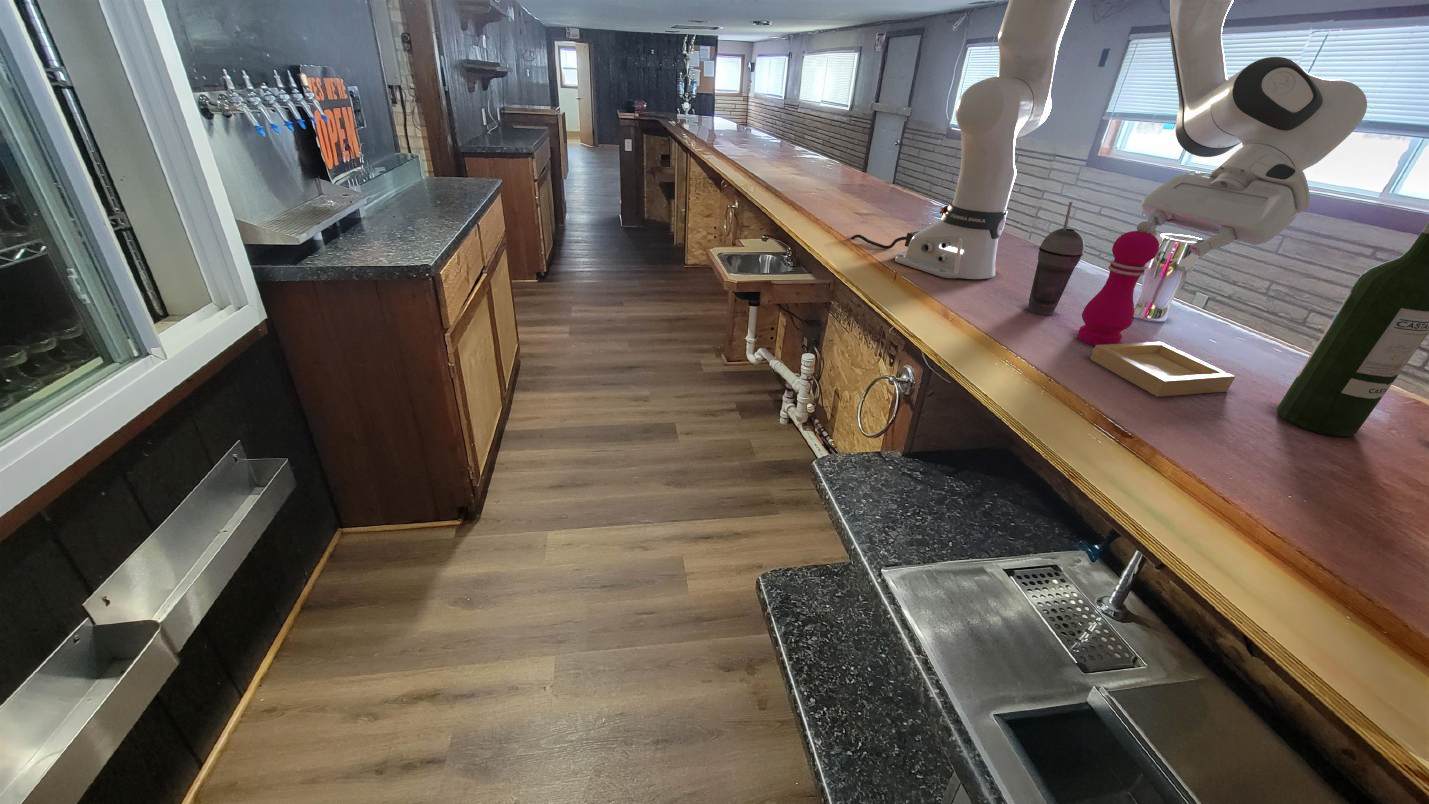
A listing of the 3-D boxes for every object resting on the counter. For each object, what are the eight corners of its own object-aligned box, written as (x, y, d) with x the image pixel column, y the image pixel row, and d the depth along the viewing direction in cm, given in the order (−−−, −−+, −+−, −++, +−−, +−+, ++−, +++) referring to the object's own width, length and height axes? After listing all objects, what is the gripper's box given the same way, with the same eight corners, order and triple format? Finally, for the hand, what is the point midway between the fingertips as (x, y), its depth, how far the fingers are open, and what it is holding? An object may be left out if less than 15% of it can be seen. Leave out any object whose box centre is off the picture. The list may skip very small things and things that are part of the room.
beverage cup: (1045, 319, 105) (1084, 208, 95) (1011, 307, 110) (1045, 200, 100) (1069, 314, 108) (1110, 206, 98) (1035, 302, 113) (1070, 198, 103)
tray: (1089, 359, 90) (1095, 344, 89) (1153, 355, 92) (1160, 341, 91) (1157, 397, 79) (1165, 381, 78) (1227, 391, 82) (1235, 376, 81)
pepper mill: (1125, 341, 97) (1178, 222, 87) (1116, 353, 92) (1170, 229, 82) (1079, 329, 101) (1124, 214, 91) (1068, 339, 97) (1114, 220, 87)
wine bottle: (1344, 444, 70) (1527, 191, 55) (1265, 415, 76) (1412, 179, 61) (1363, 428, 74) (1538, 187, 59) (1287, 401, 80) (1429, 176, 65)
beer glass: (1155, 311, 112) (1190, 234, 104) (1176, 324, 106) (1215, 244, 98) (1118, 308, 112) (1150, 232, 105) (1137, 321, 106) (1173, 241, 99)
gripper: (1180, 156, 94) (1109, 216, 97) (1316, 174, 77) (1224, 247, 80) (1190, 184, 97) (1120, 242, 100) (1322, 208, 80) (1233, 277, 83)
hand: (1167, 244), depth 90 cm, fingers open, 8 cm apart
